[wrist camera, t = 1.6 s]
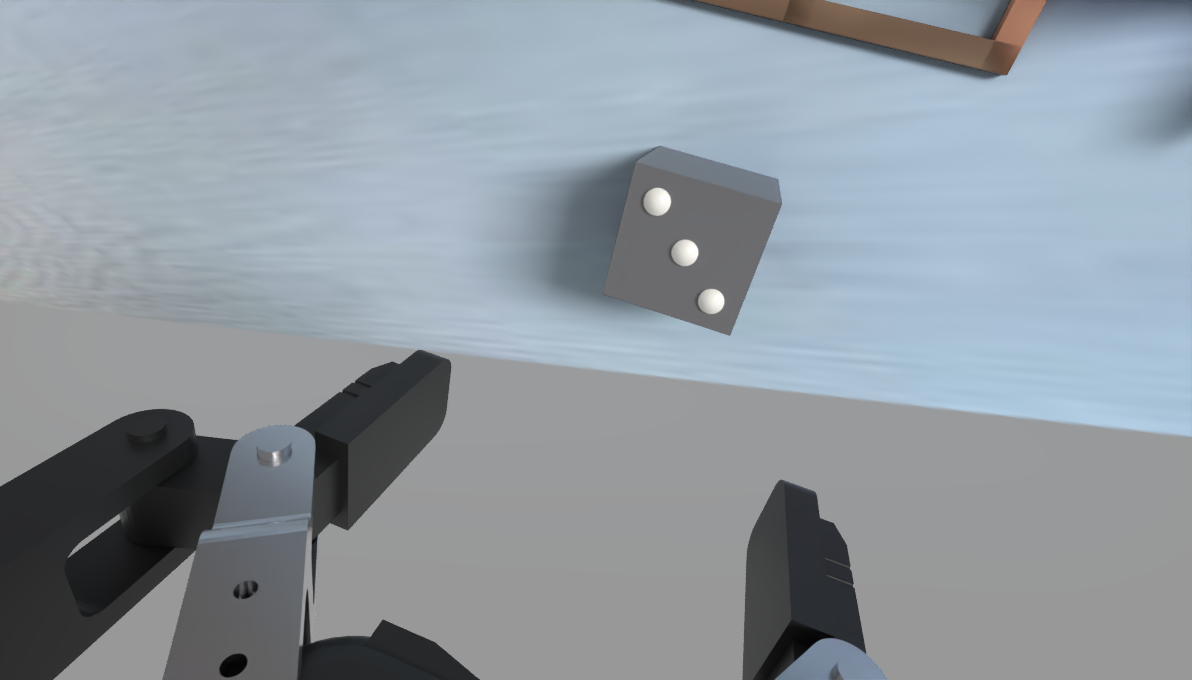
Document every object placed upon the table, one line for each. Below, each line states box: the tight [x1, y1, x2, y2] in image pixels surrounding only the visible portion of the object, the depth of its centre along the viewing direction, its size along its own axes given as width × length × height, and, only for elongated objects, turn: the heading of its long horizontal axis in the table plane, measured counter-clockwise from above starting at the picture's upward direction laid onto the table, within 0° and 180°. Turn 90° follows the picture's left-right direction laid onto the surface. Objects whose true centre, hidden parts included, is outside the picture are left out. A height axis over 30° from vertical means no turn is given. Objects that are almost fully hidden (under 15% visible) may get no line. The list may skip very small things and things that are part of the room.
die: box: [602, 146, 782, 335], centre depth 30 cm, size 7×7×7 cm
